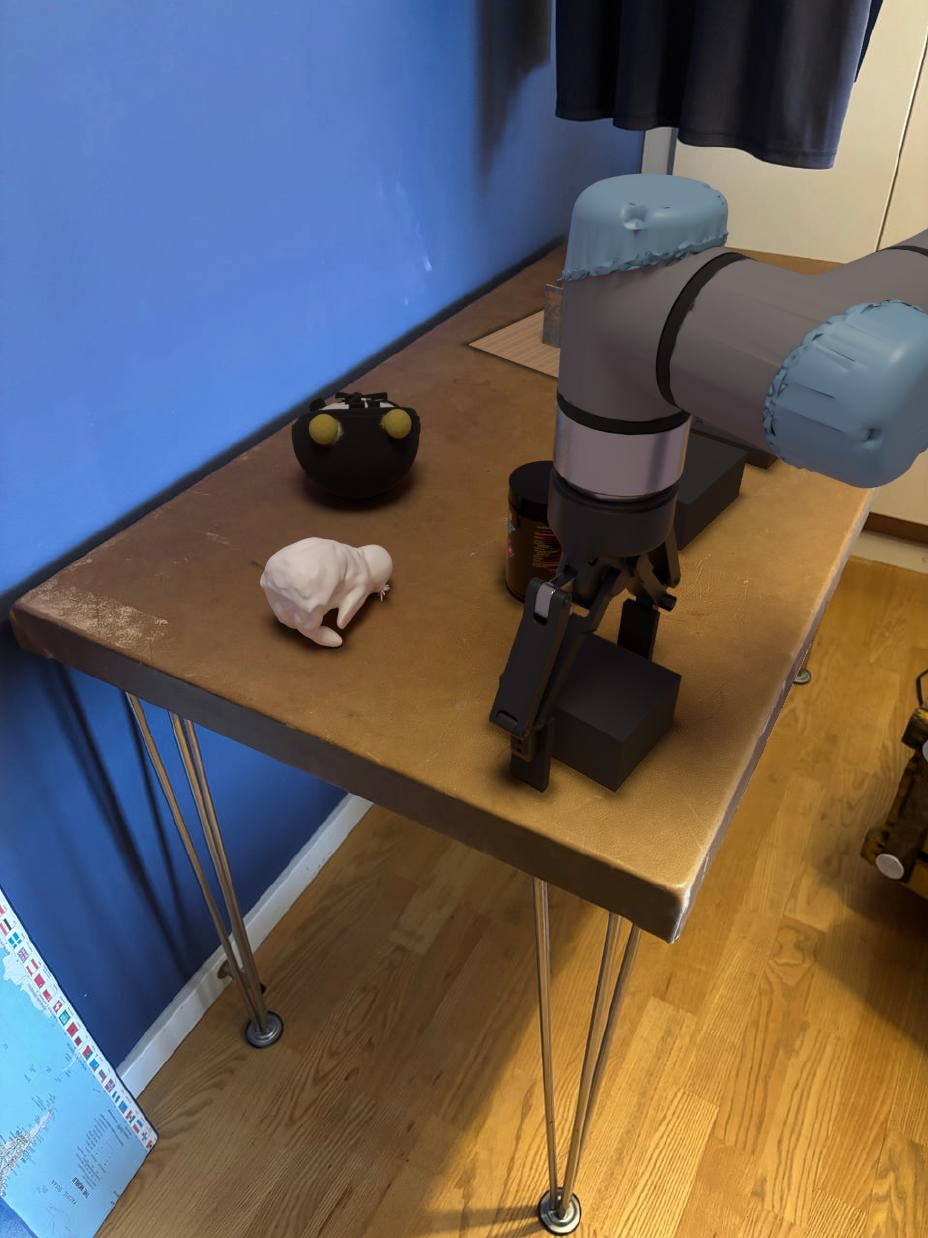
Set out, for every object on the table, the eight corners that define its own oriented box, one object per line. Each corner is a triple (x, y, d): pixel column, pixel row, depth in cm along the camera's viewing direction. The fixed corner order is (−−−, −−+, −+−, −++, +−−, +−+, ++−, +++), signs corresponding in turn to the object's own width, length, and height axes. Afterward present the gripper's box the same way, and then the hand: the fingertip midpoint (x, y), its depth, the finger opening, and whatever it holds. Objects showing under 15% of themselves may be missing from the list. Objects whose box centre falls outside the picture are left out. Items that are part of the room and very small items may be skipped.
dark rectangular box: (738, 495, 91) (748, 451, 87) (680, 550, 83) (689, 504, 80) (633, 457, 96) (639, 414, 93) (571, 506, 89) (575, 461, 86)
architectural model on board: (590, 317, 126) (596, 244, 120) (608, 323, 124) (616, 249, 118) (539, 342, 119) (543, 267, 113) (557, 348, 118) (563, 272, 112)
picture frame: (617, 420, 103) (766, 469, 95) (619, 401, 101) (771, 450, 93) (672, 379, 111) (814, 420, 103) (675, 361, 110) (819, 402, 101)
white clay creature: (248, 545, 69) (358, 491, 77) (256, 635, 74) (359, 576, 82) (306, 576, 66) (414, 517, 74) (311, 668, 71) (412, 604, 79)
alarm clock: (424, 490, 98) (473, 390, 87) (337, 560, 89) (378, 459, 78) (344, 422, 100) (381, 315, 88) (250, 484, 91) (277, 373, 79)
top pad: (672, 725, 67) (682, 675, 64) (614, 792, 62) (623, 742, 59) (558, 667, 71) (562, 618, 68) (497, 725, 67) (498, 675, 63)
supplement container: (557, 554, 83) (565, 453, 76) (596, 595, 78) (608, 492, 72) (491, 573, 81) (493, 471, 74) (527, 617, 76) (533, 512, 69)
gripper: (663, 378, 62) (626, 615, 76) (427, 543, 47) (434, 802, 61) (766, 410, 59) (708, 653, 72) (546, 600, 44) (525, 861, 57)
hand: (583, 722), depth 67 cm, fingers open, 13 cm apart
